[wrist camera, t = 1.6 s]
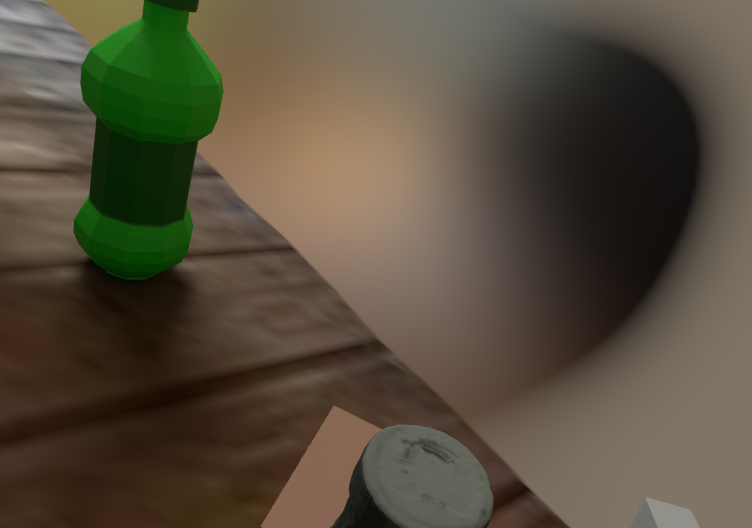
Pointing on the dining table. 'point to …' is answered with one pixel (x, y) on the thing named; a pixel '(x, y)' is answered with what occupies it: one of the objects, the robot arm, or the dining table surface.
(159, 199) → the plastic bottle
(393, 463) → the sauce bottle
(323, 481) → the terracotta tile
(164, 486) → the dining table surface
